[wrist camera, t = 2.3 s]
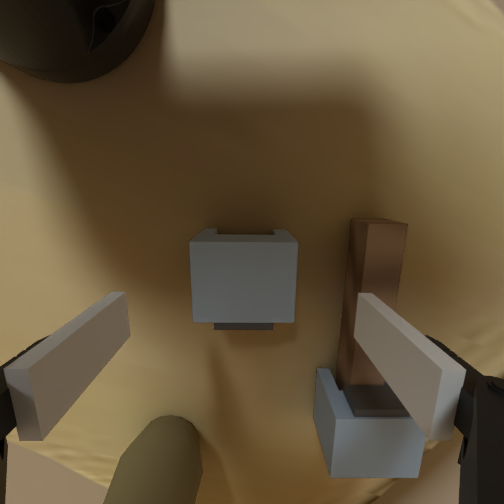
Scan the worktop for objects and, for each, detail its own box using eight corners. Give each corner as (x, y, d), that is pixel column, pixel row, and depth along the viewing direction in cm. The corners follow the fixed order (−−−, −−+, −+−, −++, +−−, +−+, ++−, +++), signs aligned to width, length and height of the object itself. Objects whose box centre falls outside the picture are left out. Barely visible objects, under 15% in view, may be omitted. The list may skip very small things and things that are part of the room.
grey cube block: (204, 228, 24) (189, 241, 18) (286, 229, 24) (298, 242, 18) (206, 298, 25) (193, 331, 19) (283, 298, 25) (293, 331, 19)
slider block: (382, 417, 28) (417, 477, 22) (313, 417, 28) (330, 478, 22) (391, 362, 26) (431, 411, 20) (317, 362, 26) (336, 411, 20)
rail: (351, 218, 23) (368, 223, 20) (384, 219, 23) (407, 224, 20) (331, 420, 29) (342, 452, 25) (359, 421, 29) (373, 452, 25)
